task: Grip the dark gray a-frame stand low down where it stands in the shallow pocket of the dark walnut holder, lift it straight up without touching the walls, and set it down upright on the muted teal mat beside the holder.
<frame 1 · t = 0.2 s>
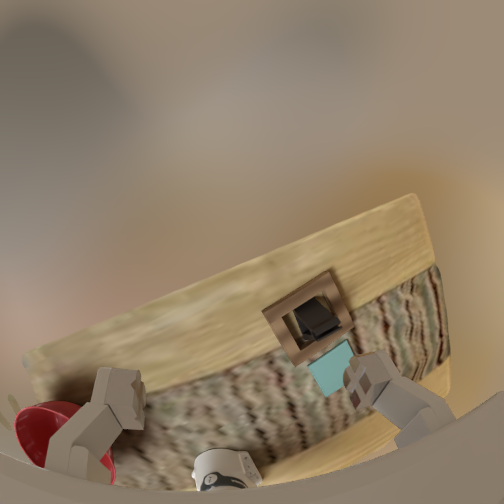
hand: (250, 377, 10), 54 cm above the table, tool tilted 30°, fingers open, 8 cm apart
walnut holder: (308, 318, 67), on the table
mixing bowl: (79, 424, 56), on the table
dark gray a-frame stand: (308, 318, 67), resting in walnut holder
teal mat: (335, 368, 69), on the table
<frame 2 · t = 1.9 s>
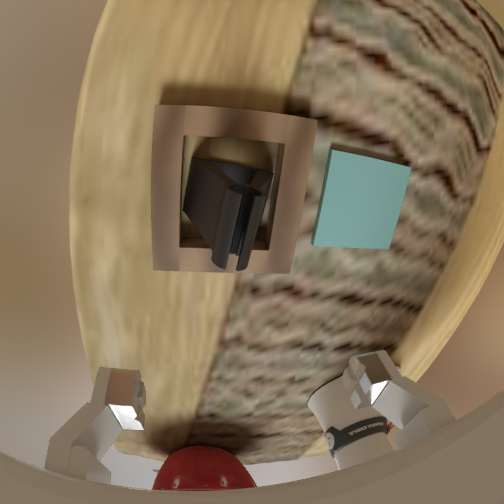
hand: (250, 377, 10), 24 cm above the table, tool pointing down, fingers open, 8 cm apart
walnut holder: (227, 190, 31), on the table
mixing bowl: (201, 452, 62), on the table
dark gray a-frame stand: (227, 189, 31), resting in walnut holder
teal mat: (362, 202, 34), on the table
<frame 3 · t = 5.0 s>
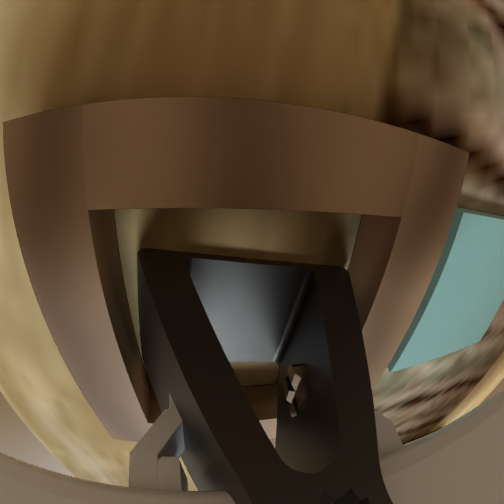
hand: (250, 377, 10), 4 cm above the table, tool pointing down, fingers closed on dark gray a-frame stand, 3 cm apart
walnut holder: (237, 314, 13), on the table
dark gray a-frame stand: (237, 311, 13), resting in walnut holder, touching gripper
teal mat: (471, 290, 16), on the table
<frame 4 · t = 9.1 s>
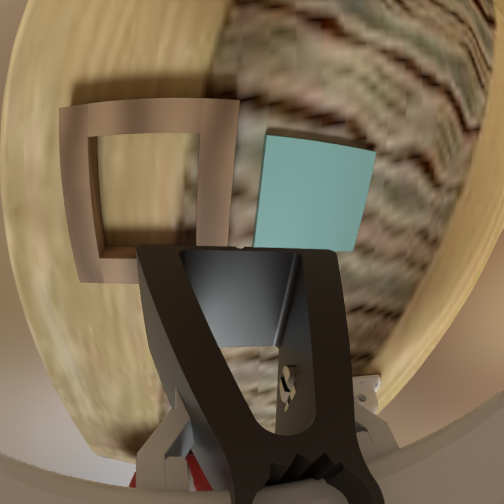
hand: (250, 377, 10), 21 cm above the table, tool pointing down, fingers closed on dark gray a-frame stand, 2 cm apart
walnut holder: (146, 191, 26), on the table
mixing bowl: (176, 458, 59), on the table
dark gray a-frame stand: (233, 298, 14), point 16 cm above the table, touching gripper
teal mat: (314, 197, 29), on the table
when the fingers open (6 cm above the table, at t = 12.2 s): dark gray a-frame stand moves 1 cm, resting on teal mat.
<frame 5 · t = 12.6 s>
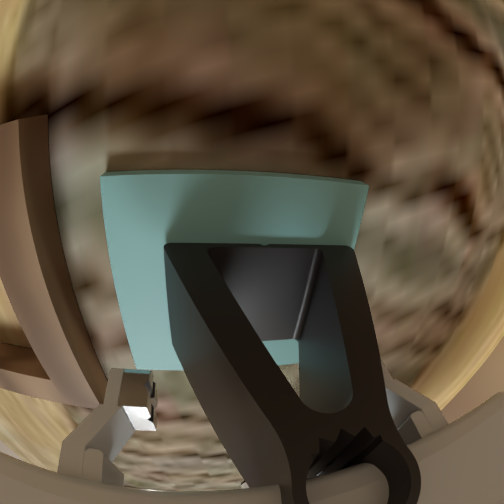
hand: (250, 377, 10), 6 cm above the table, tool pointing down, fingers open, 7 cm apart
dark gray a-frame stand: (256, 293, 15), point 1 cm above the table, touching teal mat
teal mat: (232, 285, 15), on the table
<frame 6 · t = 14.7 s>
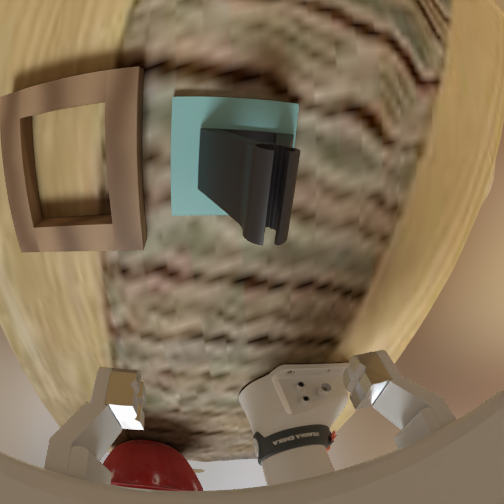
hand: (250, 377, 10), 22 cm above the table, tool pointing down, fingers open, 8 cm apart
walnut holder: (71, 163, 24), on the table
mixing bowl: (148, 447, 58), on the table
dark gray a-frame stand: (244, 159, 27), point 1 cm above the table, touching teal mat
teal mat: (232, 156, 27), on the table
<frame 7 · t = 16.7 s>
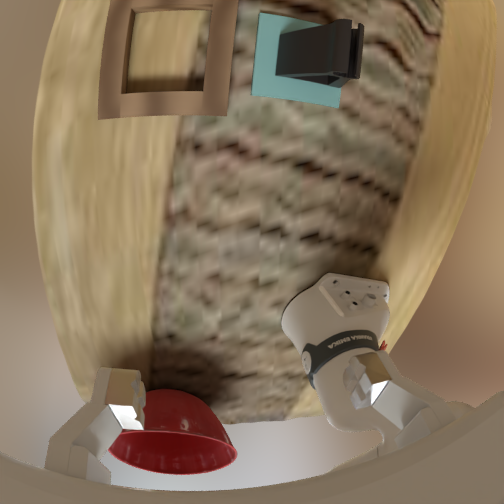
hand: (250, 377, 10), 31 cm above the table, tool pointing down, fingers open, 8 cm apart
walnut holder: (167, 49, 27), on the table
mixing bowl: (170, 402, 60), on the table
dark gray a-frame stand: (309, 61, 30), point 1 cm above the table, touching teal mat
teal mat: (299, 59, 31), on the table
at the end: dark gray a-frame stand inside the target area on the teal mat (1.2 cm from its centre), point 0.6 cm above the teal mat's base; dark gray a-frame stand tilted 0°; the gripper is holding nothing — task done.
